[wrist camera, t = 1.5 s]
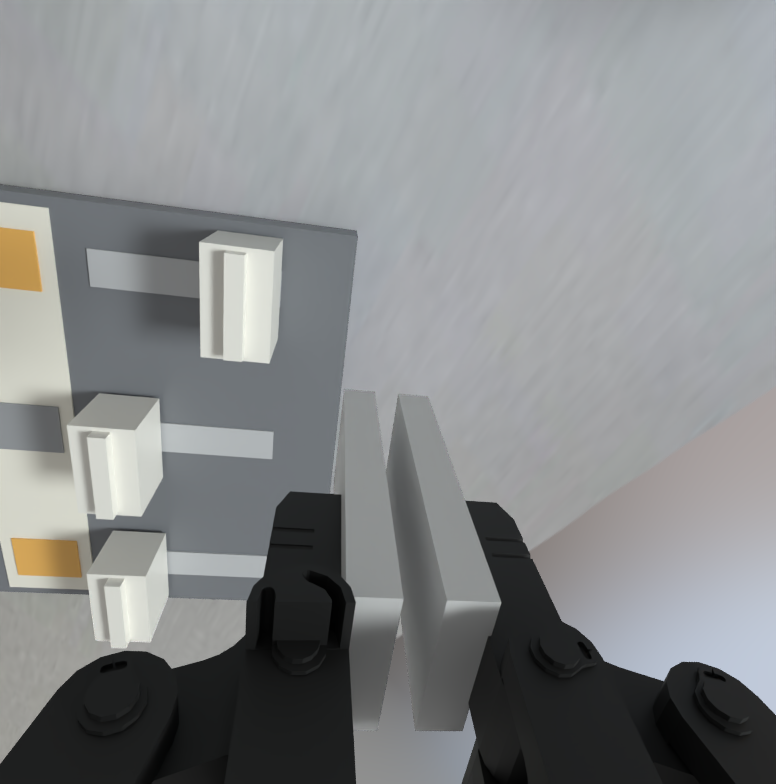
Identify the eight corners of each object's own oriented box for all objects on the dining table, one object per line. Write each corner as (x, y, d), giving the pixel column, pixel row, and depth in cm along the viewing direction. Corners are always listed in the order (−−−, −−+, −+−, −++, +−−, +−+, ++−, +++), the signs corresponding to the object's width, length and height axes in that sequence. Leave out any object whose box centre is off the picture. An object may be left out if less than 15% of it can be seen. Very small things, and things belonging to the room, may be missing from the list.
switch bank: (356, 230, 27) (357, 237, 25) (319, 580, 36) (317, 605, 34) (-116, 169, 24) (-158, 170, 22) (-20, 566, 34) (-43, 592, 32)
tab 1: (283, 238, 24) (272, 253, 21) (277, 338, 26) (267, 368, 23) (217, 230, 24) (195, 244, 20) (217, 332, 26) (196, 362, 22)
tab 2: (159, 398, 27) (130, 436, 24) (162, 477, 29) (137, 524, 26) (99, 393, 27) (60, 431, 23) (107, 473, 29) (72, 520, 25)
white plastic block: (165, 533, 31) (141, 584, 27) (168, 595, 33) (147, 651, 29) (112, 530, 31) (81, 582, 27) (119, 593, 33) (90, 650, 29)
